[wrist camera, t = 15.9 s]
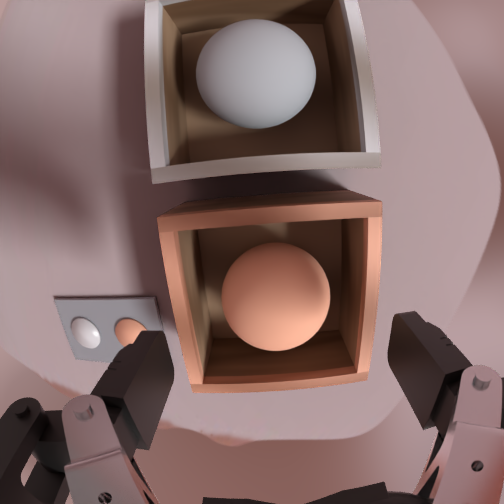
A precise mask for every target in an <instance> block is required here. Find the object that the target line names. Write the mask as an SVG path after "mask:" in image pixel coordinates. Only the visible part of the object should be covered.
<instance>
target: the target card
mask: <svg viewBox="0 0 504 504" xmlns="http://www.w3.org/2000/svg"><path fill="white" fill-rule="evenodd" d="M54 301H55V304H56V307H57V310H58V313H59V316H60V319H61V322H62V325H63V328H64V330H65V333H66V336H67V339H68V341H69V344H70V346H71V349H72V351H73V354H74V356H75V359H78V360H86V361H96V362H106V363H111V362H113V361H112V360H113V359H114V357H115V356H116V354H117V353H118V352H119V351H120V350H121V349H122V348H124V347H125V346H126V345H128V344H133V342H134V341H135V339H136V338H137V336H138V335H139V333H140V332H141V331H142V330H156V331H163V327H162V323H161V319H160V314H159V310H158V306H157V301H156V297H127V298H56V299H55V300H54ZM163 332H164V331H163Z"/></svg>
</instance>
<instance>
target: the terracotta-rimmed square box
mask: <svg viewBox="0 0 504 504" xmlns="http://www.w3.org/2000/svg"><path fill="white" fill-rule="evenodd" d="M157 224H158V230H159V237H160V243H161V249H162V255H163V261H164V267H165V273H166V278H167V283H168V289H169V294H170V299H171V304H172V309H173V313H174V318H175V323H176V327H177V332H178V336H179V340H180V344H181V349H182V353H183V357H184V361H185V365H186V369H187V373H188V377H189V380H190V384H191V388H192V391H193V393H242V392H266V391H282V390H294V389H305V388H315V387H323V386H332V385H339V384H346V383H353V382H359V381H365V380H367V378H368V372H369V367H370V360H371V354H372V347H373V340H374V332H375V324H376V315H377V305H378V295H379V282H380V267H381V246H382V201H379V200H376V199H373V198H371V197H368V196H365V195H362V194H359V193H356V192H353V191H350V190H341V191H318V192H299V193H283V194H268V195H254V196H242V197H230V198H219V199H209V200H199V201H190V202H184V203H182V204H180V205H179V206H177V207H175V208H173V209H171V210H169V211H168V212H166V213H164V214H162V215H160V216H159V217H157ZM277 242H279V243H287V244H291V245H294V246H296V247H299V248H301V249H303V250H304V251H306V252H308V253H309V254H310V255H311V256H313V257H314V258H315V259H316V260H317V262H318V263H319V264H320V266H321V267H322V269H323V270H324V272H325V274H326V277H327V280H328V283H329V288H330V305H329V309H328V313H327V316H326V318H325V321H324V322H323V324H322V326H321V327H320V329H319V330H318V331H317V332H316V333H315V335H314V336H313V337H311V338H310V339H309V340H308V341H306V342H304V343H303V344H301V345H299V346H297V347H294V348H291V349H287V350H282V351H270V350H264V349H260V348H257V347H254V346H252V345H250V344H248V343H247V342H245V341H244V340H242V339H241V338H240V337H239V336H238V335H237V334H236V333H235V332H234V331H233V330H232V328H231V327H230V325H229V323H228V322H227V320H226V318H225V315H224V312H223V307H222V300H221V295H222V286H223V282H224V279H225V276H226V274H227V272H228V270H229V269H230V267H231V265H232V264H233V263H234V262H235V261H236V260H237V259H238V258H239V257H240V256H241V255H242V254H243V253H245V252H246V251H248V250H249V249H251V248H253V247H256V246H258V245H261V244H265V243H277Z"/></svg>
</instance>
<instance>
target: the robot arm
mask: <svg viewBox="0 0 504 504" xmlns="http://www.w3.org/2000/svg"><path fill="white" fill-rule="evenodd" d="M112 361H113V362H111V363H110V365H109V366H108V370H106V371H105V372H104V374H103V375H102V377H101V378H100V380H99V382H98V383H97V385H96V386H95V388H94V389H93V391H92V392H91V394H90V395H81V396H78V397H75V398H73V399H72V400H70V401H69V402H68V403H67V404H66V405H65V406H64V408H63V410H56V411H44V410H43V408H42V407H41V405H40V403H39V402H38V401H37V400H36V399H34V398H22V399H19V400H17V401H15V402H14V403H13V404H11V405H10V406H9V408H8V409H7V410H6V412H5V413H4V415H3V416H2V417H1V419H0V504H65V502H66V500H67V497H68V495H69V492H70V494H71V497H72V500H73V504H160V503H159V501H158V500H157V498H156V496H155V495H154V493H153V491H152V489H151V487H150V486H149V484H148V482H147V480H146V478H145V476H144V475H143V473H142V471H141V469H140V467H139V465H138V463H137V461H136V459H135V457H134V453H135V450H136V448H138V449H144V450H149V449H150V446H151V443H152V440H153V437H154V434H155V431H156V429H157V426H158V423H159V420H160V417H161V415H162V412H163V409H164V406H165V403H166V401H167V398H168V395H169V392H170V390H171V387H172V384H173V381H174V367H173V363H172V359H171V355H170V352H169V348H168V344H167V340H166V336H165V334H164V332H163V331H156V330H142V331H141V332H140V333H139V335H138V336H137V338H136V339H135V341H134V342H133V344H128V345H126V346H125V347H124V348H122V349H121V350H120V351H119V352H118V353H117V354H116V356H115V357H114V359H113V360H112ZM388 362H389V366H390V368H391V370H392V372H393V373H394V375H395V377H396V379H397V381H398V382H399V384H400V386H401V388H402V390H403V392H404V394H405V395H406V397H407V399H408V401H409V403H410V405H411V407H412V409H413V411H414V413H415V415H416V416H417V418H418V420H419V422H420V424H421V426H422V428H423V430H425V429H428V428H431V427H434V426H436V427H437V429H438V431H437V433H436V436H435V438H434V441H433V445H432V447H431V450H430V453H429V456H428V459H427V462H426V464H425V467H424V470H423V472H422V475H421V478H420V479H419V482H418V484H417V485H416V487H415V489H414V491H413V493H412V494H411V493H405V492H393V491H391V492H390V491H389V492H387V489H386V486H385V482H381V483H377V484H372V485H368V486H364V487H359V488H354V489H349V490H343V491H340V492H338V493H335V494H333V495H329V496H327V497H324V498H321V499H318V500H315V501H312V502H309V503H306V504H499V502H500V497H501V493H502V488H503V481H504V378H501V377H500V376H499V374H498V373H497V372H496V371H495V370H493V369H492V368H490V367H487V366H483V365H474V366H473V365H472V364H471V363H470V362H469V360H468V359H467V358H466V357H465V356H464V355H463V354H462V353H461V351H459V349H458V348H457V347H456V346H455V345H453V342H451V340H450V339H449V338H447V336H446V335H445V334H444V333H443V331H442V330H441V329H440V328H438V327H436V326H434V325H433V324H431V323H429V322H427V323H426V322H425V321H424V320H423V319H422V318H421V316H420V315H419V314H418V313H417V312H415V311H411V312H405V313H398V314H395V315H394V317H393V321H392V328H391V334H390V340H389V346H388ZM31 454H32V455H33V456H34V457H35V458H36V460H37V462H36V465H35V466H34V468H33V470H32V472H31V474H30V476H29V478H28V480H27V482H26V484H25V486H23V485H22V482H21V472H22V470H23V468H24V466H25V464H26V463H27V461H28V459H29V457H30V455H31ZM202 504H274V503H268V502H261V501H256V500H251V499H226V498H207V497H203V503H202Z"/></svg>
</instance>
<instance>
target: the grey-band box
mask: <svg viewBox="0 0 504 504" xmlns="http://www.w3.org/2000/svg"><path fill="white" fill-rule="evenodd" d="M249 19H262V20H268V21H273V22H276V23H279V24H281V25H284V26H286V27H287V28H289V29H291V30H292V31H294V32H295V33H296V34H297V35H298V36H299V37H300V38H301V39H302V40H303V41H304V42H305V44H306V45H307V46H308V48H309V50H310V52H311V54H312V56H313V59H314V63H315V68H316V80H315V85H314V89H313V92H312V94H311V97H310V99H309V100H308V102H307V104H306V105H305V106H304V107H303V109H302V110H301V111H299V112H298V113H297V114H296V115H295V116H294V117H292V118H291V119H289V120H287V121H286V122H284V123H281V124H279V125H276V126H273V127H269V128H261V129H252V128H244V127H240V126H236V125H234V124H231V123H229V122H227V121H225V120H223V119H221V118H220V117H218V116H217V115H216V114H215V113H214V112H212V111H211V109H210V108H209V107H208V106H207V105H206V103H205V102H204V100H203V99H202V97H201V95H200V92H199V89H198V86H197V80H196V67H197V62H198V59H199V55H200V53H201V51H202V49H203V47H204V46H205V44H206V43H207V42H208V40H209V39H210V38H211V37H212V36H213V35H214V34H215V33H217V32H218V31H219V30H221V29H222V28H224V27H226V26H228V25H230V24H232V23H235V22H239V21H242V20H249ZM144 75H145V101H146V119H147V133H148V146H149V157H150V167H151V176H152V184H158V183H165V182H173V181H180V180H188V179H197V178H206V177H215V176H225V175H235V174H247V173H259V172H273V171H289V170H309V169H339V168H381V153H380V138H379V126H378V116H377V107H376V98H375V90H374V83H373V76H372V69H371V63H370V57H369V52H368V46H367V41H366V36H365V31H364V27H363V22H362V18H361V13H360V9H359V5H358V1H357V0H145V20H144Z"/></svg>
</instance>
